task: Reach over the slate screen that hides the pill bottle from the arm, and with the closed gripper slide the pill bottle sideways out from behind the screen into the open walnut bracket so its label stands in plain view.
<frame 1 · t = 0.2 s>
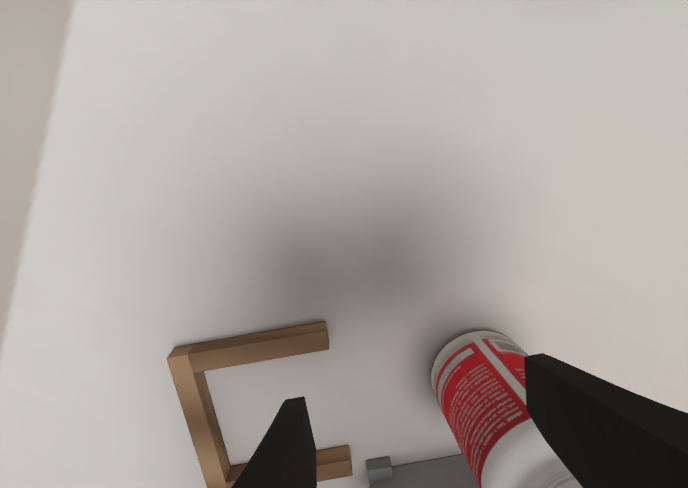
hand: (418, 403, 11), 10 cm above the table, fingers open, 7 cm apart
walnut bracket: (277, 405, 22), on the table
pill bottle: (474, 368, 23), on the table
slate screen: (468, 460, 24), on the table
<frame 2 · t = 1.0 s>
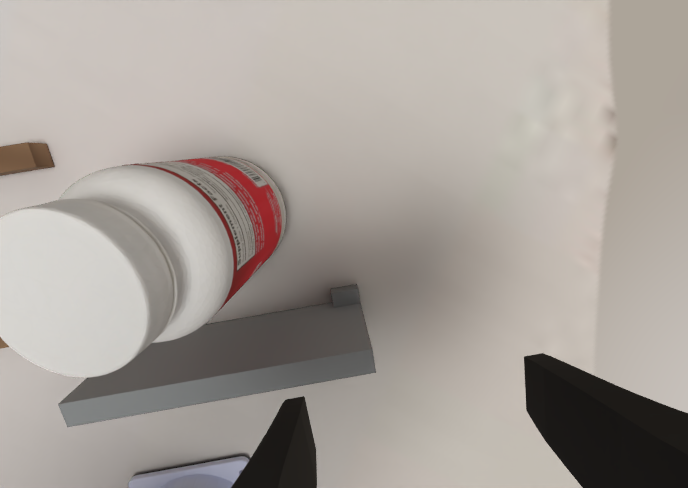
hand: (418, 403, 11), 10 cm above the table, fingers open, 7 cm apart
walnut bracket: (8, 250, 19), on the table
pill bottle: (236, 212, 19), on the table
slate screen: (248, 326, 21), on the table
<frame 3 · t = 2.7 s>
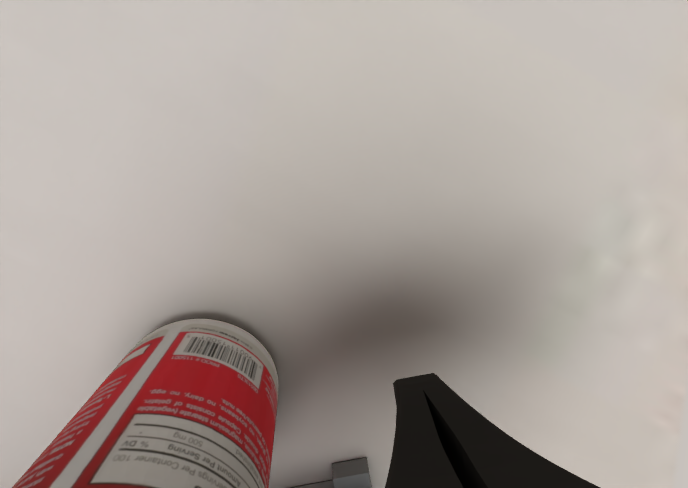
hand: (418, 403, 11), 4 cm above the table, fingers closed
pill bottle: (207, 376, 15), on the table
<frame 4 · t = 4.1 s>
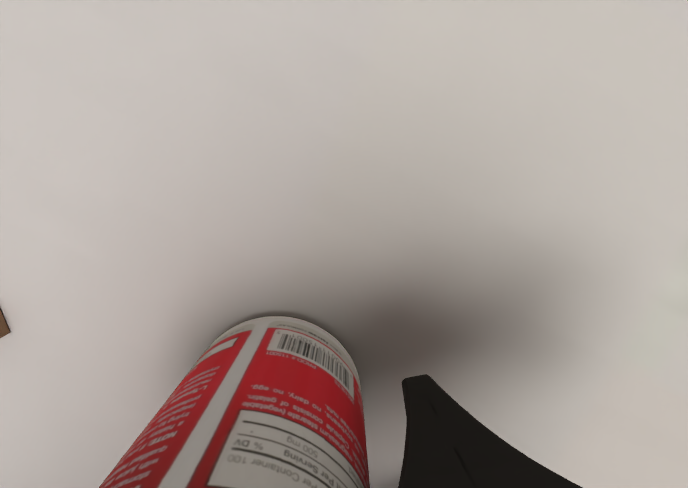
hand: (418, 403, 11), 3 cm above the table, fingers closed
pill bottle: (282, 382, 13), on the table, touching gripper
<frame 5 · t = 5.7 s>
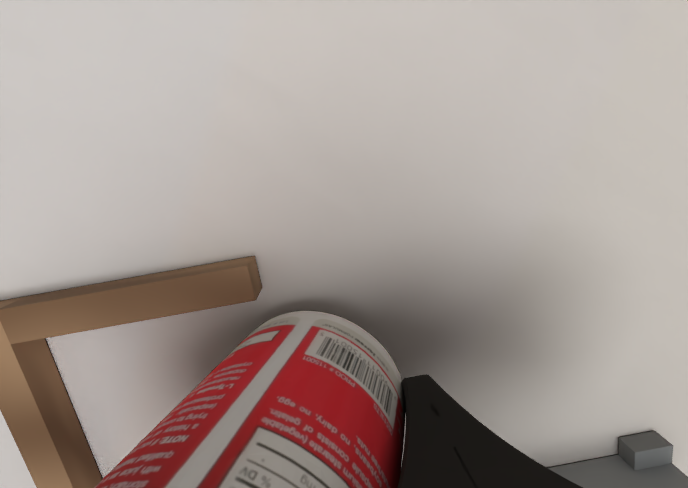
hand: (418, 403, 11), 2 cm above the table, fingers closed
walnut bracket: (182, 402, 13), on the table
pill bottle: (323, 380, 13), point 1 cm above the table, touching gripper
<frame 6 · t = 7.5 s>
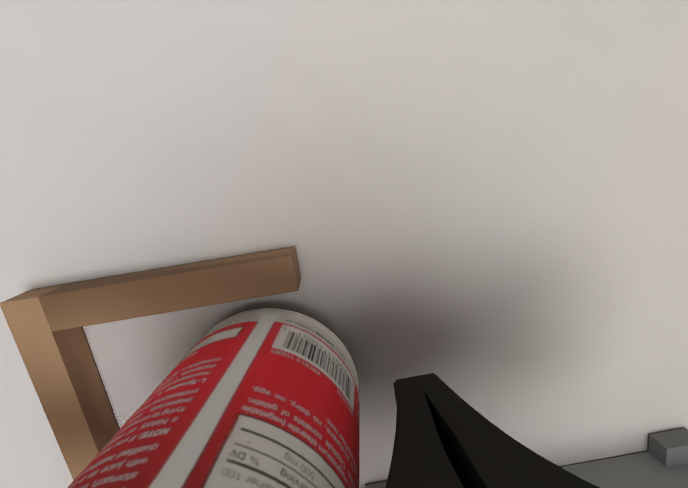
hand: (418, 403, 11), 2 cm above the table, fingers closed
walnut bracket: (216, 393, 13), on the table
pill bottle: (279, 375, 13), on the table, touching gripper
slate screen: (527, 484, 15), on the table
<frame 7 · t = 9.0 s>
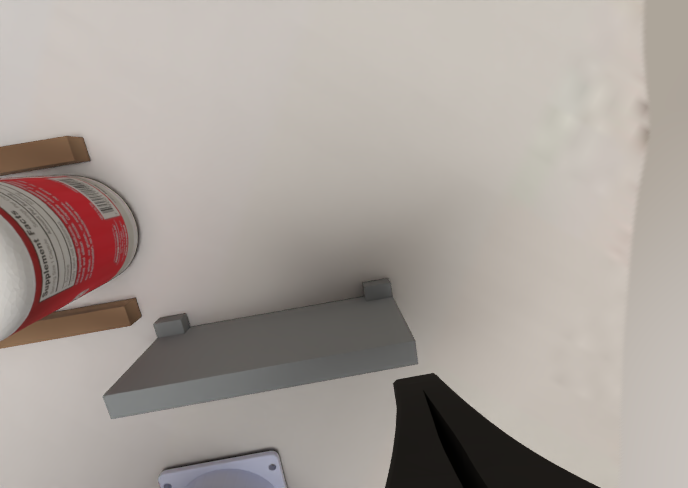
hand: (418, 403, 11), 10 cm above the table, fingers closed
walnut bracket: (43, 244, 19), on the table
pill bottle: (88, 229, 20), on the table
slate screen: (279, 320, 21), on the table
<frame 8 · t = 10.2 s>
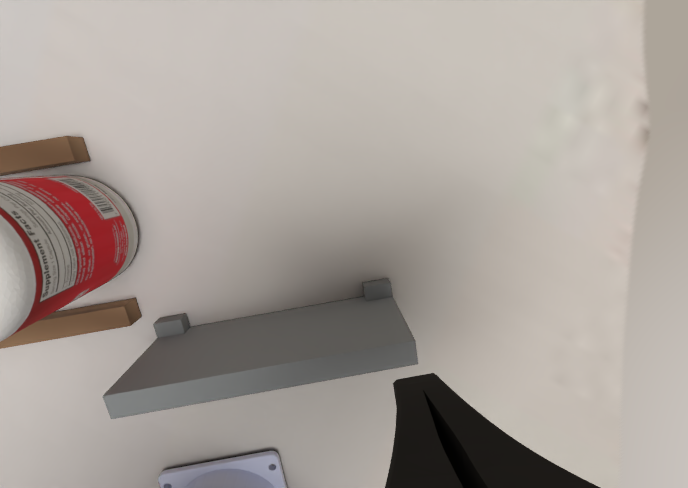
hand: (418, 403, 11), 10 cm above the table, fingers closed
walnut bracket: (43, 244, 19), on the table
pill bottle: (88, 229, 20), on the table
slate screen: (279, 320, 21), on the table
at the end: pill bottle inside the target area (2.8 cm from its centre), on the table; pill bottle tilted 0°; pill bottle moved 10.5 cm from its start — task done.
